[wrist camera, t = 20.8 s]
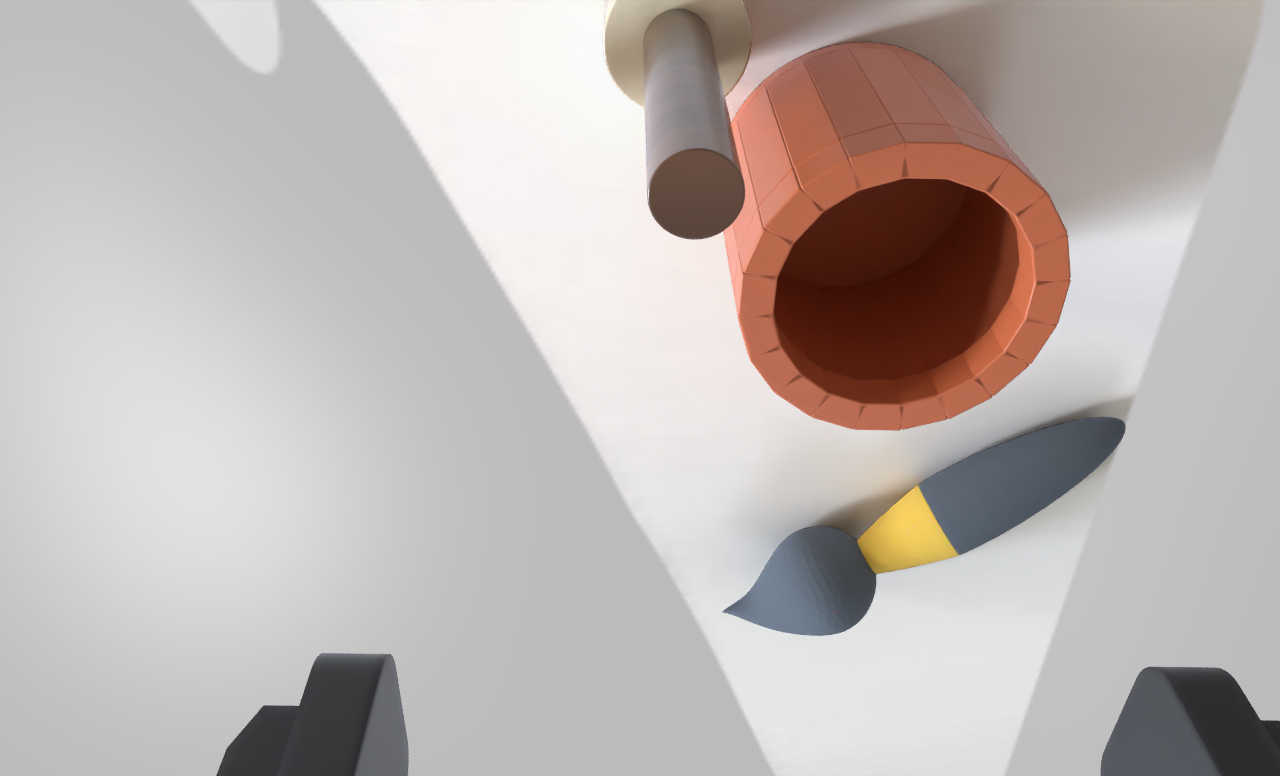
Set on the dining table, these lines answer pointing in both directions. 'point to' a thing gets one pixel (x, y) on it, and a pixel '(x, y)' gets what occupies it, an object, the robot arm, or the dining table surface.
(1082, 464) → the paintbrush
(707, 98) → the brown rod with cap
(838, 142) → the jar
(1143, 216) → the dining table surface
